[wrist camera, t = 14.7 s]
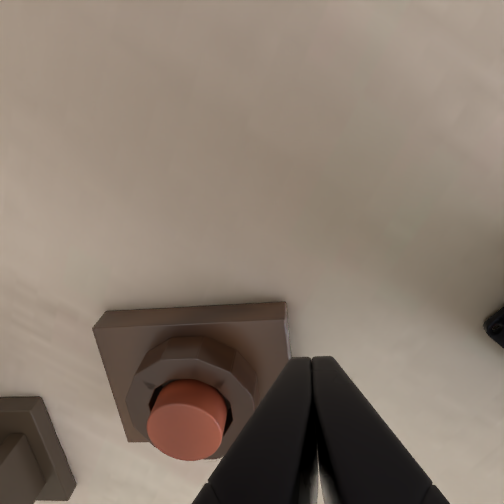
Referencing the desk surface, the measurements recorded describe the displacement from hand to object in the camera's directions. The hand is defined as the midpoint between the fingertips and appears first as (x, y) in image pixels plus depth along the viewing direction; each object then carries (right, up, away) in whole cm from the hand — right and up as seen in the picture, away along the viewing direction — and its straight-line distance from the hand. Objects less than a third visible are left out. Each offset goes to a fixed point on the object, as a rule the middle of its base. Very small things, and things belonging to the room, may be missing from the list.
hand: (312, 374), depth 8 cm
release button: (-4, -5, +13) cm, 14 cm away
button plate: (-4, -4, +15) cm, 16 cm away
